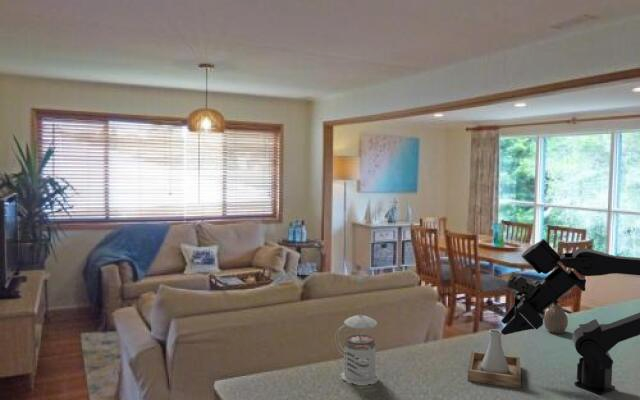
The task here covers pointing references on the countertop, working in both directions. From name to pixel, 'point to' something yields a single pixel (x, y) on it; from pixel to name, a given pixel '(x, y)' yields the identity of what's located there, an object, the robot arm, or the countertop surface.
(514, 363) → the wooden tray
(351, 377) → the french press
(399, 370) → the countertop surface
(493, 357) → the flask
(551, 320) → the vase
